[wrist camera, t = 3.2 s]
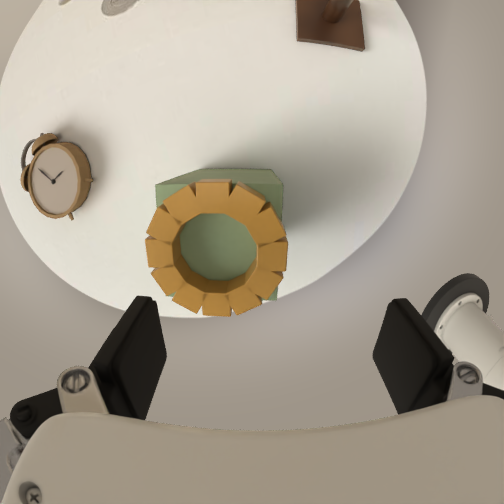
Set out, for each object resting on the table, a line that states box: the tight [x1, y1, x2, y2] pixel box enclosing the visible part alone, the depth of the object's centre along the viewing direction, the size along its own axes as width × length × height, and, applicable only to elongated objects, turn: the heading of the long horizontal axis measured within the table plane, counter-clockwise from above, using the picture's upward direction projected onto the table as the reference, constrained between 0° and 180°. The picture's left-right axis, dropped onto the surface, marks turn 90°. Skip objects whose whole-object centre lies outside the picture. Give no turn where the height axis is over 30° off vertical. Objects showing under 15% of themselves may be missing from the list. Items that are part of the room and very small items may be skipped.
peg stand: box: [295, 0, 365, 51], centre depth 20 cm, size 9×9×10 cm
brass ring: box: [145, 179, 288, 317], centre depth 19 cm, size 10×10×2 cm
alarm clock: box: [21, 133, 93, 220], centre depth 31 cm, size 11×5×15 cm
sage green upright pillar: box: [155, 169, 283, 300], centre depth 27 cm, size 9×9×16 cm
